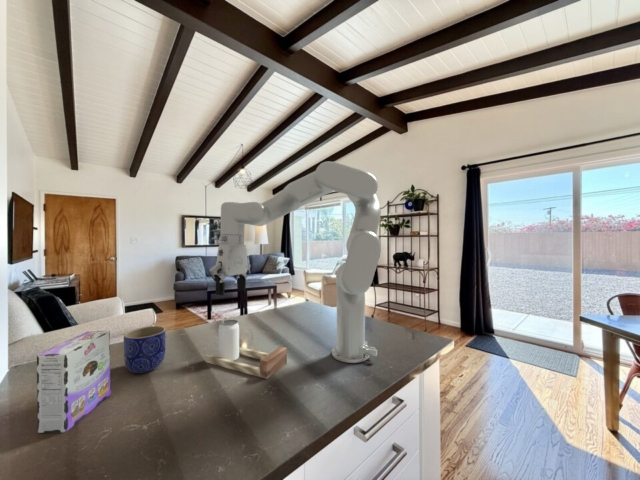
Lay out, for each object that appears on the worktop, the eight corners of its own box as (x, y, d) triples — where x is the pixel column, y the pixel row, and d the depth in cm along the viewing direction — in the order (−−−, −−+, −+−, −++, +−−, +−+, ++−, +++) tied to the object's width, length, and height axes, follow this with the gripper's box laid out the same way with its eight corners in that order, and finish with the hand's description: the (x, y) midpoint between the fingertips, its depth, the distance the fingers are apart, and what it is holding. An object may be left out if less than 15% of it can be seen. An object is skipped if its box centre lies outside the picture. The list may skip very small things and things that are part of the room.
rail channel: (286, 363, 88) (286, 347, 88) (266, 378, 79) (266, 361, 78) (228, 349, 98) (228, 335, 98) (205, 361, 89) (205, 346, 89)
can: (235, 363, 88) (235, 325, 88) (215, 362, 88) (215, 325, 88) (241, 354, 95) (241, 319, 94) (222, 354, 95) (222, 319, 95)
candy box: (87, 395, 70) (86, 330, 70) (112, 394, 71) (111, 330, 71) (35, 434, 57) (34, 353, 56) (66, 432, 57) (65, 353, 57)
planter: (174, 362, 89) (174, 327, 88) (144, 379, 78) (143, 340, 78) (147, 358, 92) (146, 324, 91) (114, 374, 81) (114, 336, 81)
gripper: (220, 240, 82) (219, 298, 82) (258, 240, 98) (257, 289, 98) (202, 240, 85) (201, 295, 86) (241, 239, 101) (240, 286, 101)
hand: (231, 292), depth 92 cm, fingers open, 9 cm apart
